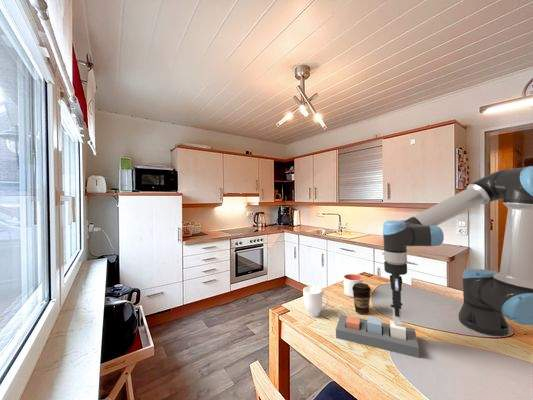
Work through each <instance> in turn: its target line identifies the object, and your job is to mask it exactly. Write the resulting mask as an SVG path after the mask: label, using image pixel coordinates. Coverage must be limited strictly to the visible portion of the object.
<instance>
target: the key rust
mask: <svg viewBox="0 0 533 400" xmlns="http://www.w3.org/2000/svg"><path fill="white" fill-rule="evenodd" d="M346 316H347V320H346V327H347V328H352V329H356V330H361V328H360V319H361V318H360V317H356V316H350V315H346Z"/></svg>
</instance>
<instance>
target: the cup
mask: <svg viewBox="0 0 533 400" xmlns="http://www.w3.org/2000/svg"><path fill="white" fill-rule="evenodd" d="M356 283H363V277H362V276H361V275H359V274H353V273H351V274H349V273H348V274H345V275H343V293H344V294H345V295H346V296H347V297H349V298H352V299H354V295H353V289H352V288H353V286H354V284H356Z"/></svg>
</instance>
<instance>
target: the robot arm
mask: <svg viewBox="0 0 533 400" xmlns="http://www.w3.org/2000/svg"><path fill="white" fill-rule="evenodd" d="M501 200H502V204H503V205H504V206H505V207H506V208H507V215H506V223H505V228H504V229H505V230H504V238H503V245H502V252H501V259H500V266H499V271H495V270H490V269H484V268H483V269H480V268H467V269H464V270H463V271H462V278H461V279H462V293H463V295H462V297H463V304H462V306H461V308H460V310H459V312H458V321H459V322H460V324H462V325H463V326H465V327H466V328H468V329H470V330H473V331H475V332H478V333H481V334H484V335H488V336H495V337H503V336H504V337H505V336H507V335H508V334H509V333H510V328H509V327H510V326H509V324H508V322H507V319H508V320H510V321H513V322H515V323H517V324H519V325H523V326H533V165H530V166H523V167H516V168H505V169H501V170H497V171H495V172H492V173H489V174H487V175H485V176H483V177H482V178H481V177H480V178H479V179H478V180H476V181H473V182H472V183H469V184H468V185H467V187H466V188H465V189H464V190H462V191H460V192H457V193H455V194H454V195H453V196H450V197H448V198H447V199H445V200H442V201H440V202H439V203H437V204H435V205H432V206H431V207H429V208H427V209H425V210H423V211H421V212H419V213H417V214H415V215H414V216H411V217H409V218H407V219H406V220H402V219H401V220H386V221H384V222H383V224H382V225H383V226H382V228H383V229H382V235H383V239H382V240H383V251H382V255H383V260H384V262H383V267H384V269H383V270H384V271H385V272H386V273H387V274H389V283H390V289H391V290H392V291H391V292H392V298H391V299H392V303H391V304H390V307H391V308H392V321H393V324H398V325H401V322H402V307H403V302H402V295H401V294H402V289H403V288H402V285H403V277H402V276H403V275H407V274H408V264H407V263H408V253H407V252H408V250H407V247H435V246H436V247H437V246H440V245H442V244H443V243H444V239H445V236H444V235H445V234H444V231H443V230H442V228H441V227H440V226H439V225H441V224H443V223H444V222H447V221H449V220H451V219H453V218H455V217H457V216H459V215H461V214H463V213H465V212H467V211H469V210H472V209H473V208H476V207H477V206H480V205H488V204H489V203H492V202H496V201H501Z"/></svg>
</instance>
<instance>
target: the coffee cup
mask: <svg viewBox="0 0 533 400" xmlns="http://www.w3.org/2000/svg"><path fill="white" fill-rule="evenodd" d="M352 289H353V295H354V298H353V300H354V301H353V302H354V303H353V304H354V307H355V312H356V314H359V315H369V314H370V298H371V296H370V295H371V290H372V289H371V287H370V285H369V284H367V283H364V282H362V283H356V284H354V286H353V288H352Z"/></svg>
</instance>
